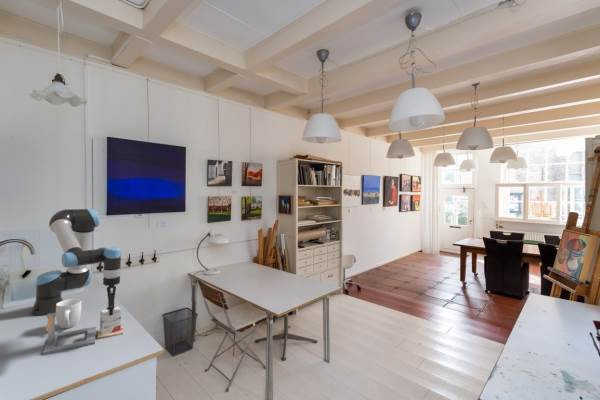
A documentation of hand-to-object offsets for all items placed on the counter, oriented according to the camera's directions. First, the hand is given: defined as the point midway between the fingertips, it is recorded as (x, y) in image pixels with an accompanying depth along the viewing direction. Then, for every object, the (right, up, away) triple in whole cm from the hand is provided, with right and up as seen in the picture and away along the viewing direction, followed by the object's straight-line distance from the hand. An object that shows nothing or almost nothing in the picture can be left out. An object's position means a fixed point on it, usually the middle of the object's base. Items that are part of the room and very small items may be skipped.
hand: (110, 315), depth 152 cm
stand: (-13, -9, -10) cm, 18 cm away
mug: (-26, -8, +4) cm, 27 cm away
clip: (-14, +5, -21) cm, 26 cm away
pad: (0, -9, 0) cm, 9 cm away
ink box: (0, -8, 0) cm, 8 cm away
